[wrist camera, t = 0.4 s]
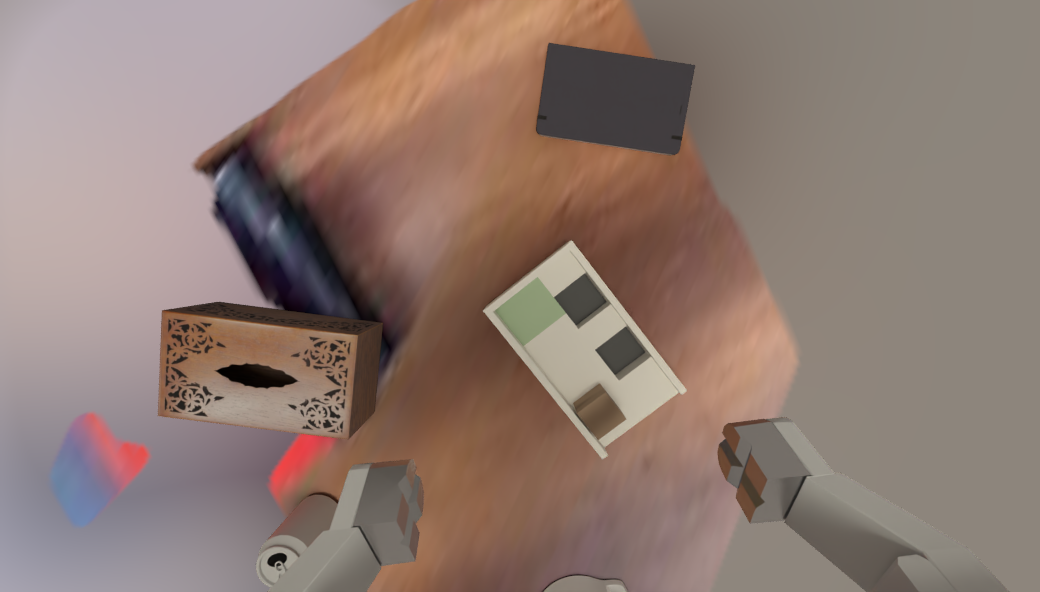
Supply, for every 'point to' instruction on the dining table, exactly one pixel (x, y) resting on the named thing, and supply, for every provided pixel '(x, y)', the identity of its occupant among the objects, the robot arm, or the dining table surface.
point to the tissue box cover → (268, 368)
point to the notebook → (614, 99)
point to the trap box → (582, 341)
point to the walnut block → (599, 411)
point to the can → (294, 537)
